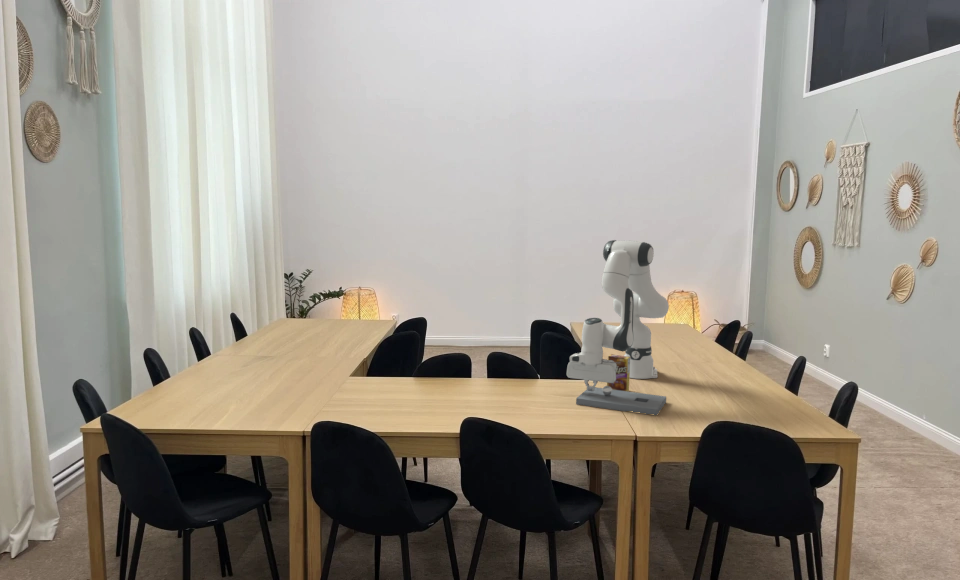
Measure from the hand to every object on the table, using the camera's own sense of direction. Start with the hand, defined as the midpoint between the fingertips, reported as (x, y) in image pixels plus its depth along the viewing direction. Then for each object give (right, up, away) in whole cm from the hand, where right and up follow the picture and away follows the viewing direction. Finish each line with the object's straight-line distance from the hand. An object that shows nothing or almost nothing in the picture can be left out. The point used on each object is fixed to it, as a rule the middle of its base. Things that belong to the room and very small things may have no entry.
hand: (590, 390), depth 278 cm
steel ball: (+6, 0, -3) cm, 7 cm away
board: (+12, -4, -5) cm, 13 cm away
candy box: (+14, -2, +15) cm, 21 cm away
